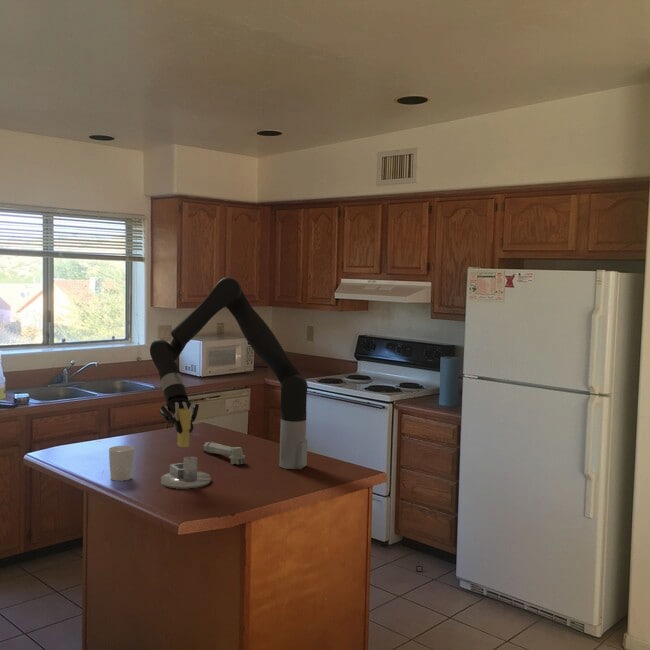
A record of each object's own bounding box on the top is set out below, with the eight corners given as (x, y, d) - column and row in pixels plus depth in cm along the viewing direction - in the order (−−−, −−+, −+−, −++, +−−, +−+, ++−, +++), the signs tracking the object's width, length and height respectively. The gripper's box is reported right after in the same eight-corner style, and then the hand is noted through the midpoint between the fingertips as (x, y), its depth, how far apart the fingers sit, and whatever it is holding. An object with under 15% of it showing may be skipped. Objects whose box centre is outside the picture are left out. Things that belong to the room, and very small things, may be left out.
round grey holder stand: (154, 478, 231) (154, 452, 230) (199, 473, 239) (200, 448, 238) (170, 491, 217) (171, 464, 216) (218, 485, 225) (219, 458, 225)
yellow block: (176, 444, 231) (177, 409, 230) (184, 443, 233) (185, 408, 232) (181, 447, 227) (182, 411, 226) (189, 447, 229) (190, 411, 228)
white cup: (120, 483, 224) (120, 452, 224) (103, 478, 228) (103, 448, 228) (138, 477, 231) (139, 448, 230) (122, 473, 235) (122, 444, 235)
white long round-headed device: (212, 440, 272) (247, 444, 252) (213, 457, 271) (248, 463, 252) (200, 442, 268) (235, 446, 249) (201, 459, 268) (235, 465, 249)
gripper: (156, 383, 231) (168, 427, 222) (196, 381, 239) (209, 424, 229) (151, 396, 236) (162, 440, 226) (190, 394, 243) (202, 436, 234)
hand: (185, 431), depth 228 cm, fingers closed on yellow block, 3 cm apart
